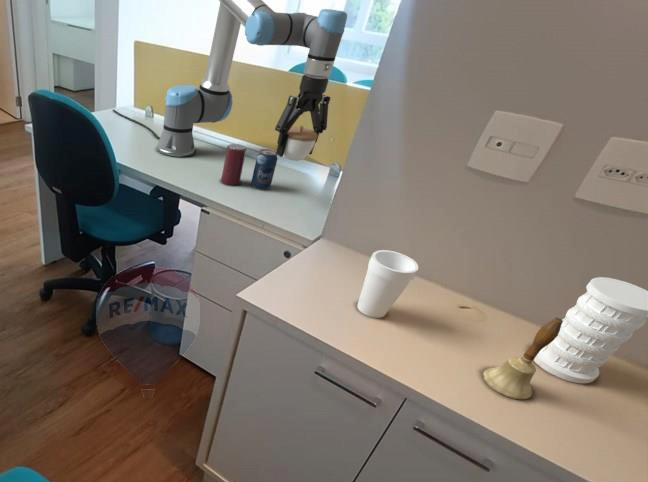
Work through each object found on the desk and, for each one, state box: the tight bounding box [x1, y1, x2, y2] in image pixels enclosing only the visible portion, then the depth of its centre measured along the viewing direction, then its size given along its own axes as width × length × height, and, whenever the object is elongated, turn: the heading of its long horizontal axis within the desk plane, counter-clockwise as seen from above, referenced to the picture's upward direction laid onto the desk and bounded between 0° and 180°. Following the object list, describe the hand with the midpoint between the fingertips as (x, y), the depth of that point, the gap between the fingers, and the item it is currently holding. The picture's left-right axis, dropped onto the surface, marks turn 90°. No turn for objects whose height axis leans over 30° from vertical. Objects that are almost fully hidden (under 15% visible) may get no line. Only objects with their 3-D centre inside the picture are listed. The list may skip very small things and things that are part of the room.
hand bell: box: [482, 317, 563, 400], centre depth 82 cm, size 8×8×16 cm
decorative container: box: [533, 276, 648, 384], centre depth 87 cm, size 12×12×18 cm
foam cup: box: [356, 249, 419, 319], centre depth 99 cm, size 10×9×13 cm
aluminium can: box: [220, 143, 247, 187], centre depth 155 cm, size 7×7×12 cm
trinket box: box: [283, 125, 319, 162], centre depth 140 cm, size 11×11×9 cm
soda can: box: [250, 148, 278, 191], centre depth 154 cm, size 7×7×12 cm
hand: (293, 154), depth 142 cm, fingers closed on trinket box, 11 cm apart
